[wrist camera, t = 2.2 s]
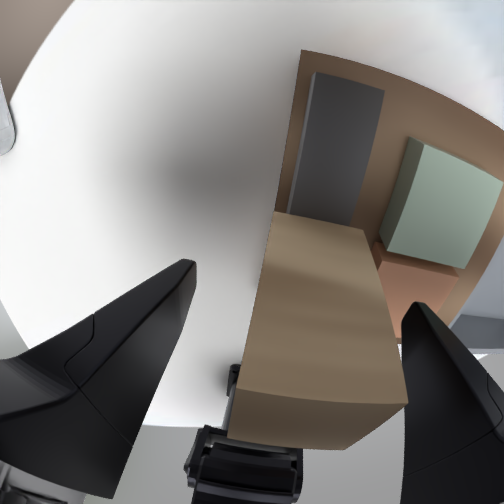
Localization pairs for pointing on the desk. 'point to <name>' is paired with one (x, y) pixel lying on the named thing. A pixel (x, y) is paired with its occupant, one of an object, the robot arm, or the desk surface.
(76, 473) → the robot arm
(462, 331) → the box
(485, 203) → the sage tile
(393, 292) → the terracotta tile
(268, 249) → the wood and gray t-block
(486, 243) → the brown flat block
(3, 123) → the white rounded block
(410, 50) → the desk surface
